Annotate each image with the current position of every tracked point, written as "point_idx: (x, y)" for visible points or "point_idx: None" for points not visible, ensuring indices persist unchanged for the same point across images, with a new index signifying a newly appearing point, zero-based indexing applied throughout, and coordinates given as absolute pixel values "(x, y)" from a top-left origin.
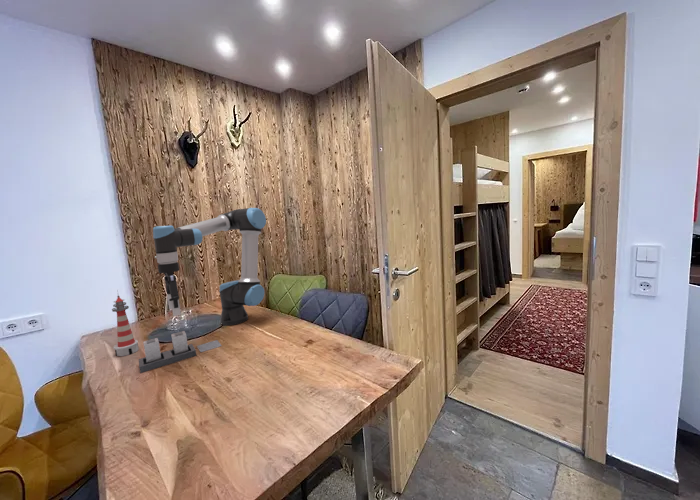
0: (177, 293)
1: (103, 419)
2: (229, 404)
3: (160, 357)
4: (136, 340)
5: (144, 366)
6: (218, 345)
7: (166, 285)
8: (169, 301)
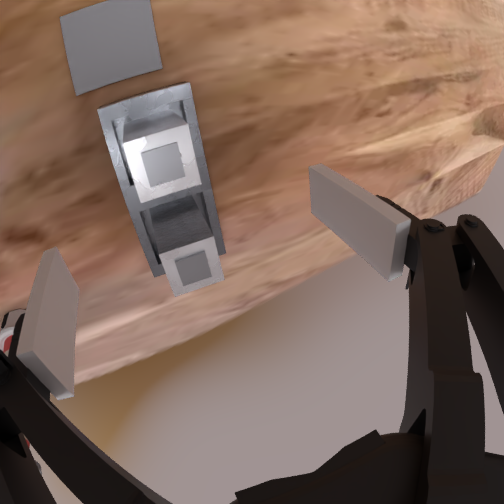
0: (496, 250)
1: None
2: (458, 57)
3: (197, 206)
4: (5, 334)
5: (222, 240)
6: (135, 3)
7: (51, 497)
8: (69, 331)
